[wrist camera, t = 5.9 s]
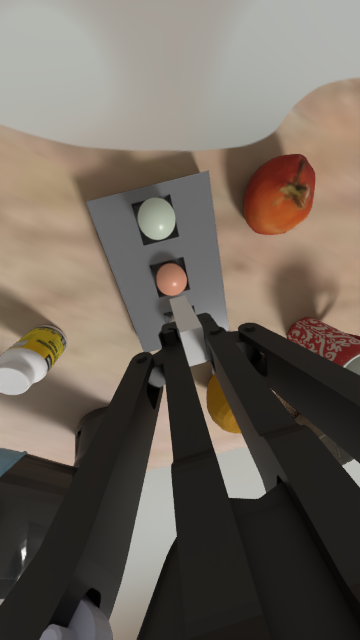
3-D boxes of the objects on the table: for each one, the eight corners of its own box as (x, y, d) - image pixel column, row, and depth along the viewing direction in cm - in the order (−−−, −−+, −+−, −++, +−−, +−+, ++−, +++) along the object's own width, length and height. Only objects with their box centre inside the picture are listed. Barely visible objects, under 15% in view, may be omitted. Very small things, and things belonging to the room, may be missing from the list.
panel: (144, 342, 37) (144, 353, 34) (93, 204, 27) (85, 201, 24) (222, 322, 38) (229, 330, 35) (202, 177, 27) (208, 170, 24)
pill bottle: (74, 347, 36) (45, 391, 26) (44, 357, 36) (3, 405, 26) (56, 319, 33) (15, 356, 23) (22, 330, 33) (-33, 372, 23)
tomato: (252, 246, 32) (281, 251, 25) (223, 197, 29) (246, 186, 21) (300, 206, 31) (345, 199, 23) (275, 148, 27) (319, 118, 20)
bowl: (280, 445, 60) (302, 483, 51) (268, 410, 52) (292, 448, 43) (337, 423, 59) (370, 457, 50) (334, 383, 50) (373, 416, 41)
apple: (232, 345, 41) (259, 383, 30) (262, 376, 46) (294, 418, 35) (188, 380, 43) (199, 427, 33) (221, 406, 48) (239, 453, 38)
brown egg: (160, 291, 32) (161, 298, 28) (152, 265, 30) (152, 269, 26) (185, 284, 32) (189, 291, 28) (179, 258, 30) (183, 262, 27)
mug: (280, 352, 43) (330, 400, 31) (285, 317, 39) (344, 355, 27) (331, 343, 44) (399, 386, 32) (341, 307, 40) (423, 340, 28)
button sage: (145, 242, 27) (144, 243, 23) (135, 206, 25) (132, 202, 21) (175, 234, 27) (179, 234, 23) (167, 198, 25) (170, 193, 21)
